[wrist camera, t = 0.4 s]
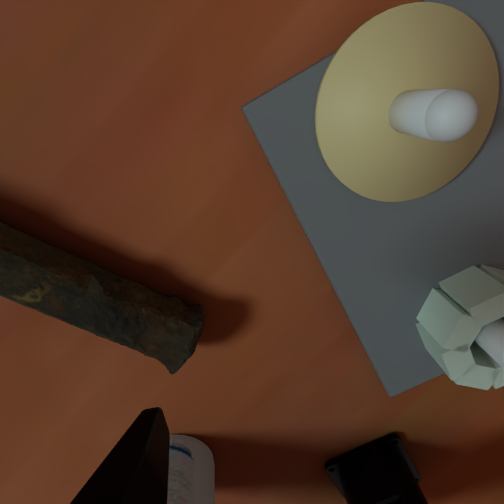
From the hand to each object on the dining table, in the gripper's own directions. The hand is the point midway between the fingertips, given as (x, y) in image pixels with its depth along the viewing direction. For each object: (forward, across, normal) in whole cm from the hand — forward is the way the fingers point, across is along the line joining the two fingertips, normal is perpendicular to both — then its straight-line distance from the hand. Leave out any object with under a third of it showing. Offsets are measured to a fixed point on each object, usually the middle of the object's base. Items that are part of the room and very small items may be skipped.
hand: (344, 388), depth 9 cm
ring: (+12, -12, +8) cm, 19 cm away
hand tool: (+14, +13, 0) cm, 19 cm away
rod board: (+13, -10, +1) cm, 16 cm away
